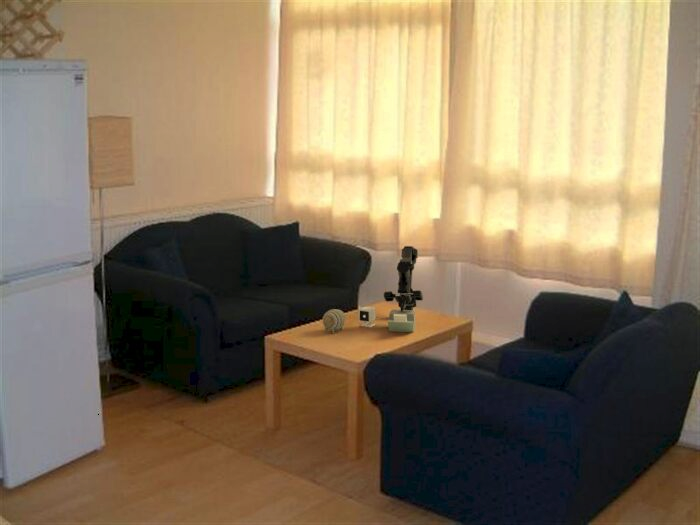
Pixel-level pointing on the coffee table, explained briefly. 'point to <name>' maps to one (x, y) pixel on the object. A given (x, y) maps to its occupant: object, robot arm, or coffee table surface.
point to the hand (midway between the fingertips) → (402, 311)
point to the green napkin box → (409, 313)
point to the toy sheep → (333, 320)
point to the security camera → (367, 316)
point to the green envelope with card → (400, 324)
